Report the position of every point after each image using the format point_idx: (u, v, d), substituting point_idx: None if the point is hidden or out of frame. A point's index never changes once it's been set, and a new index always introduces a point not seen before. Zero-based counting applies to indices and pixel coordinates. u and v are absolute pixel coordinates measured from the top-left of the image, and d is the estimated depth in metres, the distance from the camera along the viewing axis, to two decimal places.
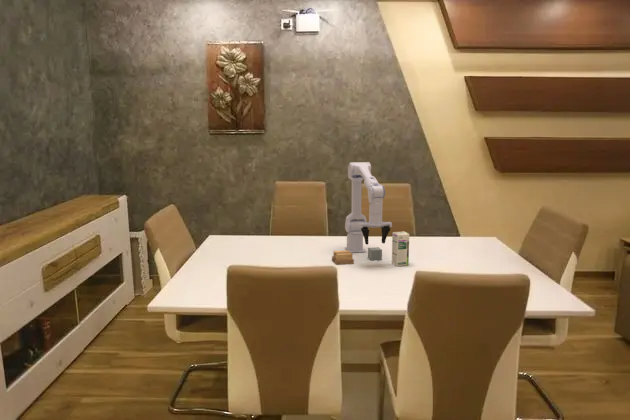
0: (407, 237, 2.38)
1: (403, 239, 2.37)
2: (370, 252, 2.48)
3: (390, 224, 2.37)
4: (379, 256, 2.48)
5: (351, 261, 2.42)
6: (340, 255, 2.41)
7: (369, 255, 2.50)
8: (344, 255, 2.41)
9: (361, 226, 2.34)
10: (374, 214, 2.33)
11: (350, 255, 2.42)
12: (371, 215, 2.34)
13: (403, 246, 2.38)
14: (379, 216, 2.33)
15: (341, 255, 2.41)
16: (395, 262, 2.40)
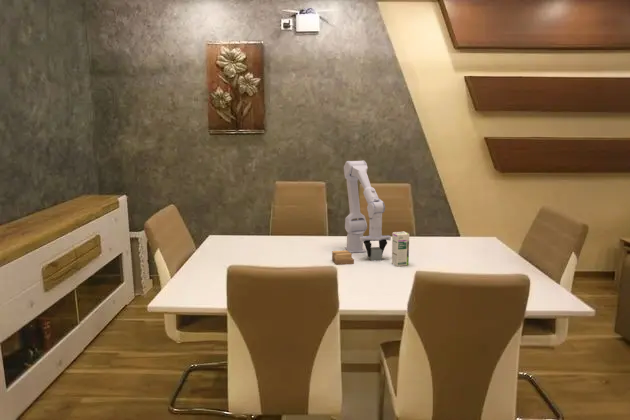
0: (407, 237, 2.38)
1: (403, 239, 2.37)
2: None
3: (389, 238, 2.50)
4: (379, 255, 2.48)
5: (351, 261, 2.42)
6: (339, 255, 2.41)
7: None
8: (343, 255, 2.41)
9: (362, 240, 2.47)
10: (374, 228, 2.46)
11: (349, 255, 2.42)
12: (371, 229, 2.47)
13: (403, 246, 2.38)
14: (379, 230, 2.46)
15: (340, 255, 2.41)
16: (395, 262, 2.40)
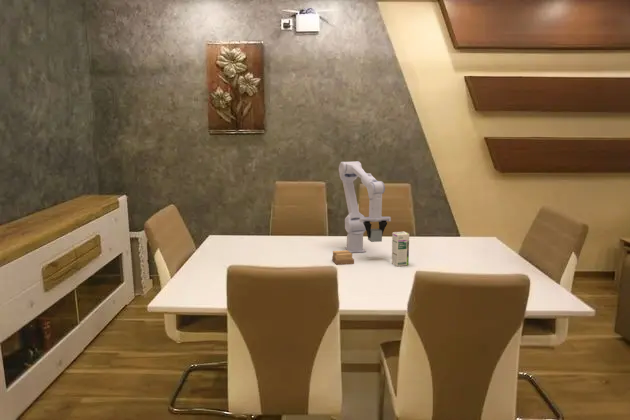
0: (407, 237, 2.38)
1: (403, 239, 2.37)
2: None
3: (389, 218, 2.48)
4: (379, 237, 2.47)
5: (351, 261, 2.42)
6: (340, 255, 2.41)
7: None
8: (344, 255, 2.41)
9: (361, 220, 2.45)
10: (374, 209, 2.44)
11: (350, 255, 2.42)
12: (371, 210, 2.45)
13: (403, 246, 2.38)
14: (379, 211, 2.44)
15: (341, 255, 2.41)
16: (395, 262, 2.40)
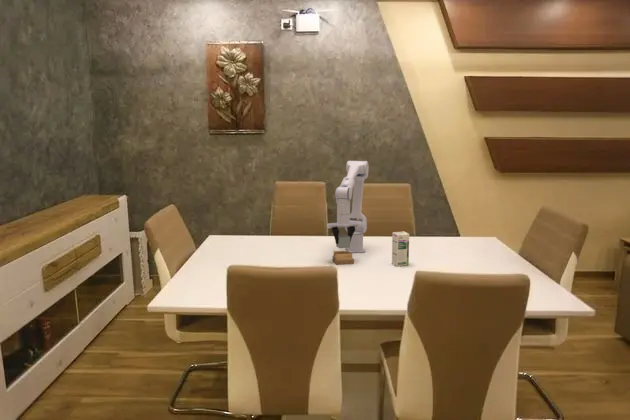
0: (407, 237, 2.38)
1: (403, 239, 2.37)
2: (338, 239, 2.41)
3: (357, 224, 2.43)
4: (347, 243, 2.41)
5: (351, 261, 2.42)
6: (340, 255, 2.41)
7: None
8: (344, 255, 2.41)
9: (329, 226, 2.40)
10: (341, 215, 2.39)
11: (350, 255, 2.41)
12: (338, 216, 2.40)
13: (403, 246, 2.38)
14: (346, 217, 2.39)
15: (341, 255, 2.41)
16: (395, 262, 2.40)
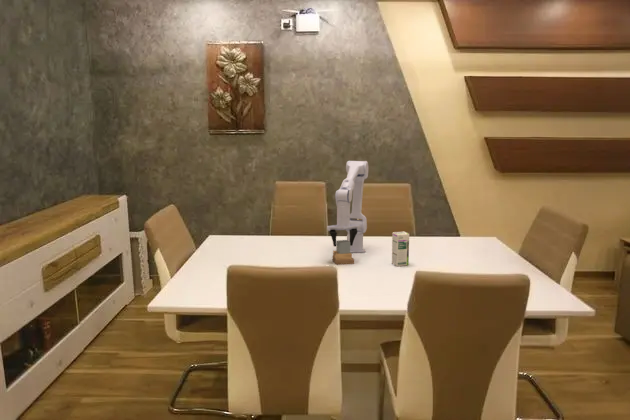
0: (407, 237, 2.38)
1: (403, 239, 2.37)
2: (338, 245, 2.42)
3: (357, 227, 2.43)
4: (347, 248, 2.42)
5: (351, 261, 2.42)
6: (339, 255, 2.41)
7: (338, 248, 2.43)
8: (343, 255, 2.41)
9: (329, 229, 2.40)
10: (341, 217, 2.39)
11: (349, 255, 2.42)
12: (338, 218, 2.40)
13: (403, 246, 2.38)
14: (346, 219, 2.39)
15: (340, 255, 2.41)
16: (395, 262, 2.40)
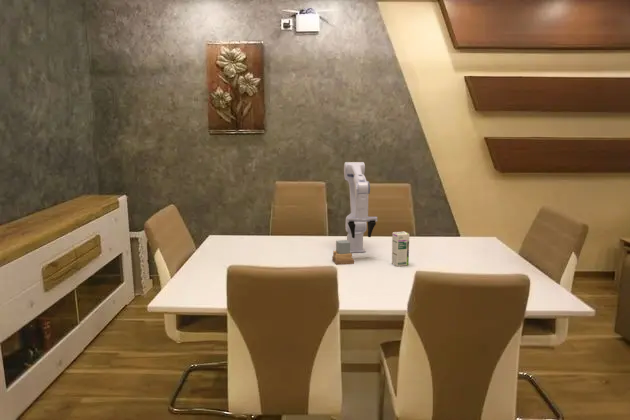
0: (407, 237, 2.38)
1: (403, 239, 2.37)
2: (338, 245, 2.42)
3: (376, 219, 2.48)
4: (347, 249, 2.42)
5: (351, 261, 2.42)
6: (339, 255, 2.41)
7: (338, 248, 2.43)
8: (343, 255, 2.42)
9: (348, 220, 2.45)
10: (360, 209, 2.44)
11: (349, 255, 2.42)
12: (357, 210, 2.45)
13: (403, 246, 2.38)
14: (365, 211, 2.44)
15: (340, 255, 2.41)
16: (395, 262, 2.40)
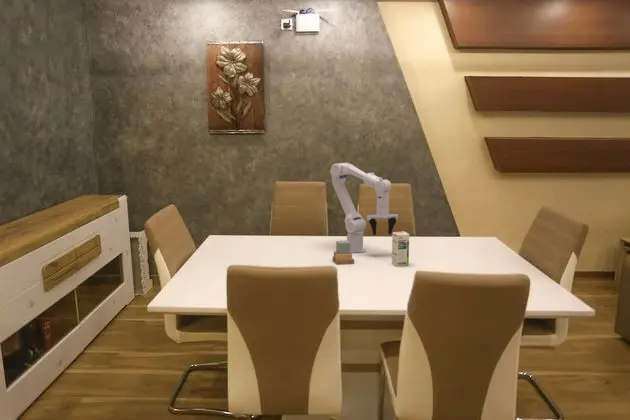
0: (407, 237, 2.38)
1: (403, 239, 2.37)
2: (338, 245, 2.42)
3: (396, 216, 2.54)
4: (347, 249, 2.42)
5: (351, 261, 2.42)
6: (340, 255, 2.41)
7: (338, 248, 2.43)
8: (344, 255, 2.41)
9: (369, 218, 2.51)
10: (381, 207, 2.50)
11: (350, 255, 2.42)
12: (378, 208, 2.51)
13: (403, 246, 2.38)
14: (386, 208, 2.50)
15: (341, 255, 2.41)
16: (395, 262, 2.40)
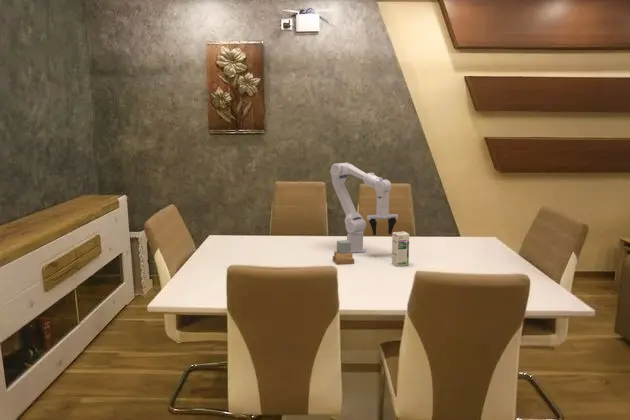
0: (407, 237, 2.38)
1: (403, 239, 2.37)
2: (339, 245, 2.42)
3: (396, 216, 2.54)
4: (348, 248, 2.42)
5: (352, 261, 2.42)
6: (340, 255, 2.41)
7: (338, 248, 2.43)
8: (344, 255, 2.41)
9: (369, 218, 2.51)
10: (381, 207, 2.50)
11: (350, 255, 2.42)
12: (378, 208, 2.51)
13: (403, 246, 2.38)
14: (386, 208, 2.50)
15: (341, 255, 2.41)
16: (395, 262, 2.40)
